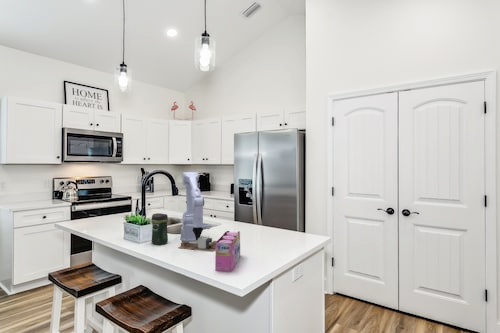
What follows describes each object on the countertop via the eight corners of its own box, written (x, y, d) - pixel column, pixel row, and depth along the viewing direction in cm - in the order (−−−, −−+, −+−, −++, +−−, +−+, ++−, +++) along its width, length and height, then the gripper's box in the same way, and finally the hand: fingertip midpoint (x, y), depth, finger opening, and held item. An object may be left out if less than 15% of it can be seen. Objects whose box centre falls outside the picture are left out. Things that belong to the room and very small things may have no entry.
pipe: (181, 244, 172) (181, 240, 172) (183, 243, 174) (183, 239, 174) (214, 247, 167) (214, 243, 167) (215, 246, 169) (215, 242, 169)
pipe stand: (178, 248, 169) (178, 241, 169) (185, 244, 177) (185, 237, 177) (213, 251, 163) (213, 243, 163) (218, 246, 172) (218, 239, 172)
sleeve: (197, 248, 168) (197, 238, 168) (201, 245, 173) (201, 236, 173) (205, 248, 166) (205, 238, 166) (209, 246, 171) (209, 236, 171)
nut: (205, 248, 166) (205, 240, 166) (209, 246, 172) (209, 238, 171) (208, 248, 166) (208, 240, 166) (211, 246, 171) (211, 238, 171)
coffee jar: (170, 242, 180) (170, 213, 180) (160, 246, 173) (160, 215, 173) (158, 240, 185) (158, 211, 184) (149, 243, 178) (149, 213, 177)
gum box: (226, 254, 158) (227, 230, 158) (241, 255, 157) (241, 230, 157) (214, 271, 135) (215, 242, 134) (231, 272, 133) (231, 243, 133)
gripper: (183, 218, 168) (183, 241, 168) (206, 219, 164) (206, 243, 165) (189, 215, 175) (189, 238, 175) (211, 217, 171) (211, 239, 172)
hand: (197, 240), depth 170 cm, fingers closed
